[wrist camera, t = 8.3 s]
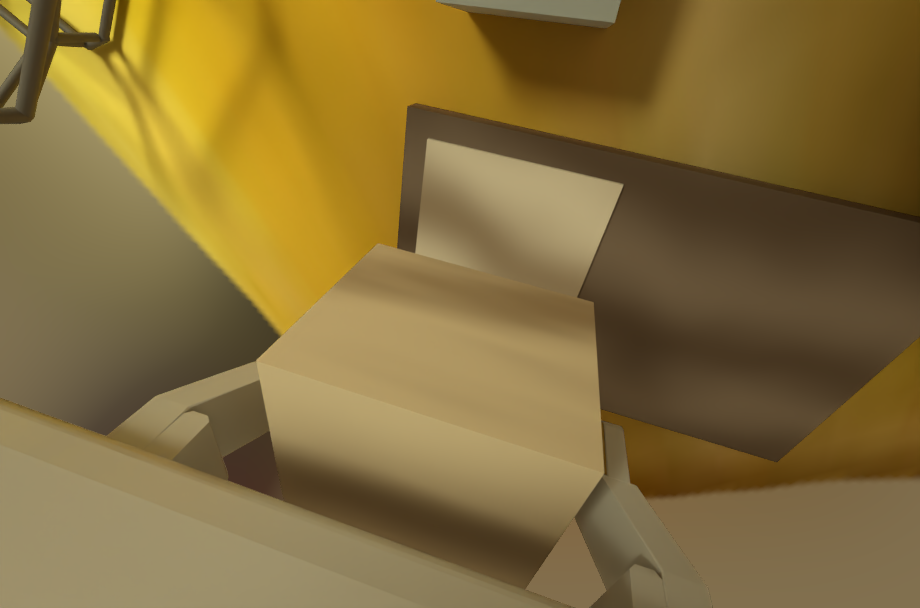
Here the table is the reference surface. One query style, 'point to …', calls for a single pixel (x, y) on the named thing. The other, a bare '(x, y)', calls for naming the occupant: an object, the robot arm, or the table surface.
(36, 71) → the geometric lantern
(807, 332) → the board
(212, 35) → the table surface
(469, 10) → the top block
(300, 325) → the block
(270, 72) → the table surface
